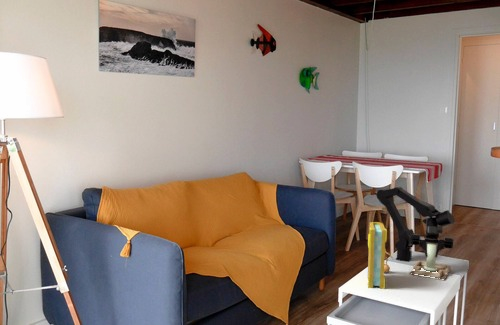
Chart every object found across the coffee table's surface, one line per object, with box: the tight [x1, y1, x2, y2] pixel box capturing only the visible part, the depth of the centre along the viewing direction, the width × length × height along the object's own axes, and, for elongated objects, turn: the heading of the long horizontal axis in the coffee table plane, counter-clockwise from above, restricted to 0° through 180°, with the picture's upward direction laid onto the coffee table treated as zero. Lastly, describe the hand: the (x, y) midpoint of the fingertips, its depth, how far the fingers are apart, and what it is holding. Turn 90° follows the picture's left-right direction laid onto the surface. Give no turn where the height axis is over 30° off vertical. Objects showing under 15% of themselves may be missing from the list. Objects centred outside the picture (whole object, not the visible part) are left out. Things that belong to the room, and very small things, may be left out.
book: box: [367, 221, 388, 290], centre depth 205 cm, size 17×7×25 cm, turn 168°
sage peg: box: [424, 243, 438, 272], centre depth 220 cm, size 6×6×12 cm
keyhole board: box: [409, 260, 451, 280], centre depth 221 cm, size 15×18×2 cm
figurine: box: [384, 248, 394, 274], centre depth 218 cm, size 8×6×12 cm
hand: (431, 256), depth 218 cm, fingers closed on sage peg, 4 cm apart
